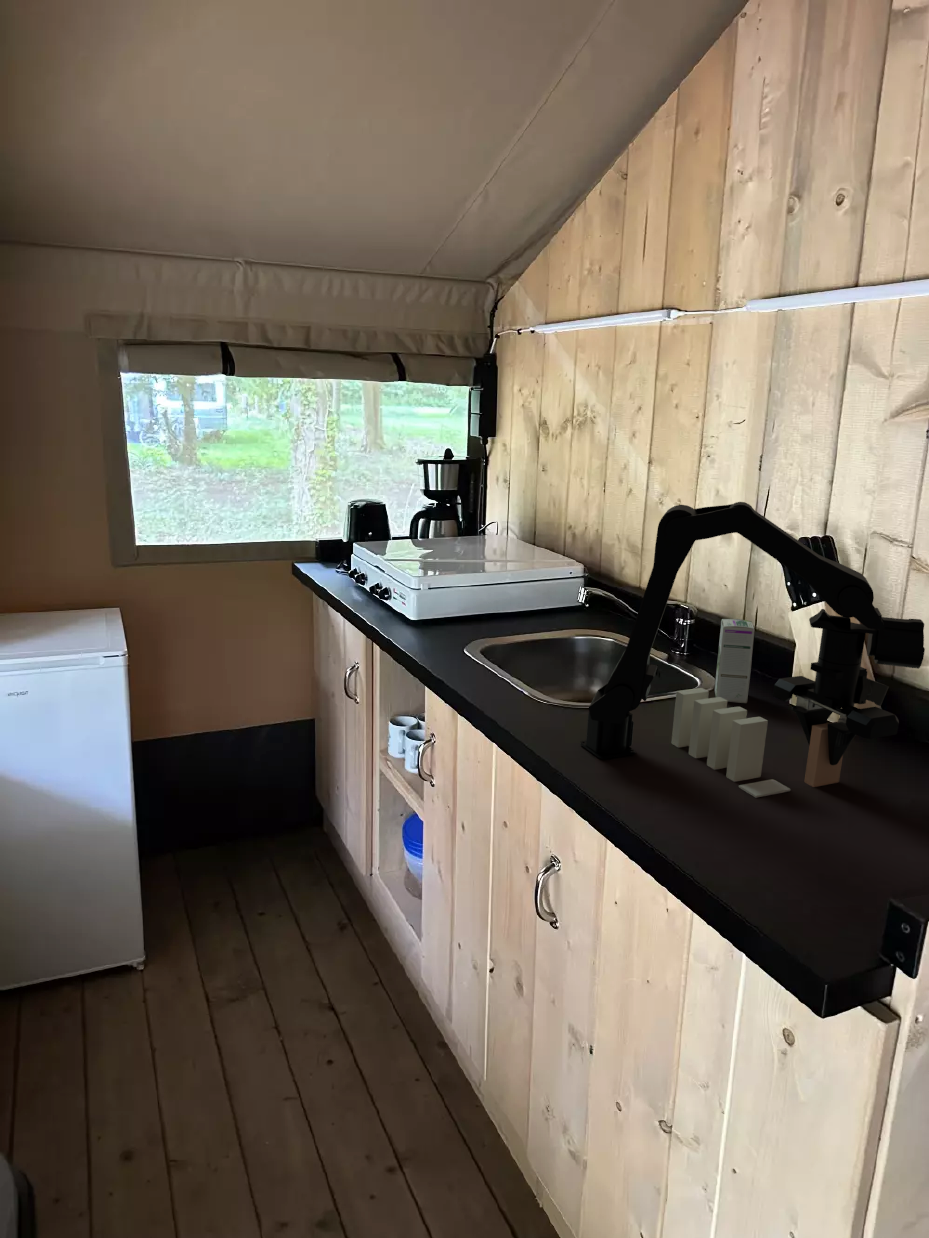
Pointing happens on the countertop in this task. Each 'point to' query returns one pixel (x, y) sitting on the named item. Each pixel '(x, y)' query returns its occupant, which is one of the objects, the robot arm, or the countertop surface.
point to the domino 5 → (820, 759)
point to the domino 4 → (746, 748)
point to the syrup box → (734, 660)
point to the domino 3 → (722, 735)
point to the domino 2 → (703, 725)
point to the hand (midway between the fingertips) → (824, 760)
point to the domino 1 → (685, 715)
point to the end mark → (764, 788)
